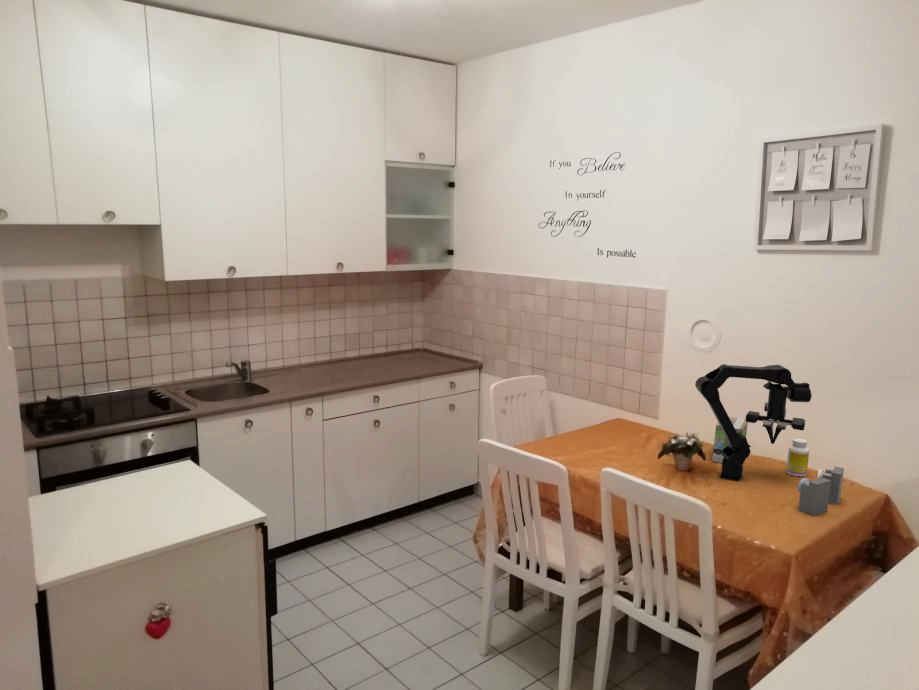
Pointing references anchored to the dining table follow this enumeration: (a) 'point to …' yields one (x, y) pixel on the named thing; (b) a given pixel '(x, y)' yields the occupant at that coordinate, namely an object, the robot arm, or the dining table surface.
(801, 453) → the supplement bottle
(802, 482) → the button blue
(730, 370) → the robot arm
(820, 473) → the button ivory
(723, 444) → the tea box
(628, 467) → the dining table surface
